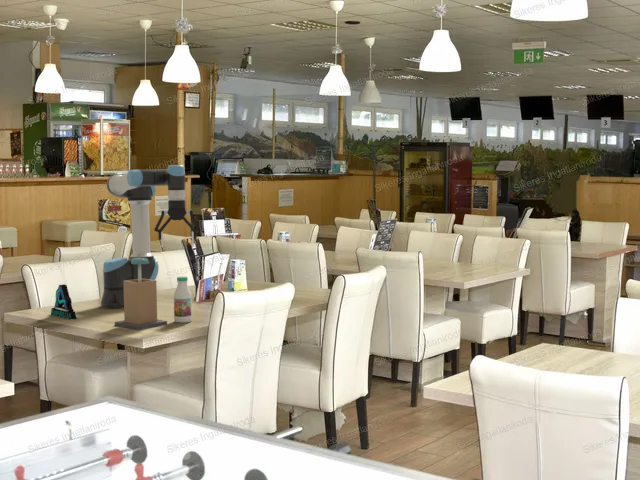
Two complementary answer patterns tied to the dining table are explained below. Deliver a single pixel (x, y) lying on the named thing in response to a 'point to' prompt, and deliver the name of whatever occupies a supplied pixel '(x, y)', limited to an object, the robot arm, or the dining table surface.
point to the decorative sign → (61, 300)
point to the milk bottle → (182, 302)
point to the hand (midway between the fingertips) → (177, 246)
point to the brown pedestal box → (140, 305)
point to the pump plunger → (139, 265)
